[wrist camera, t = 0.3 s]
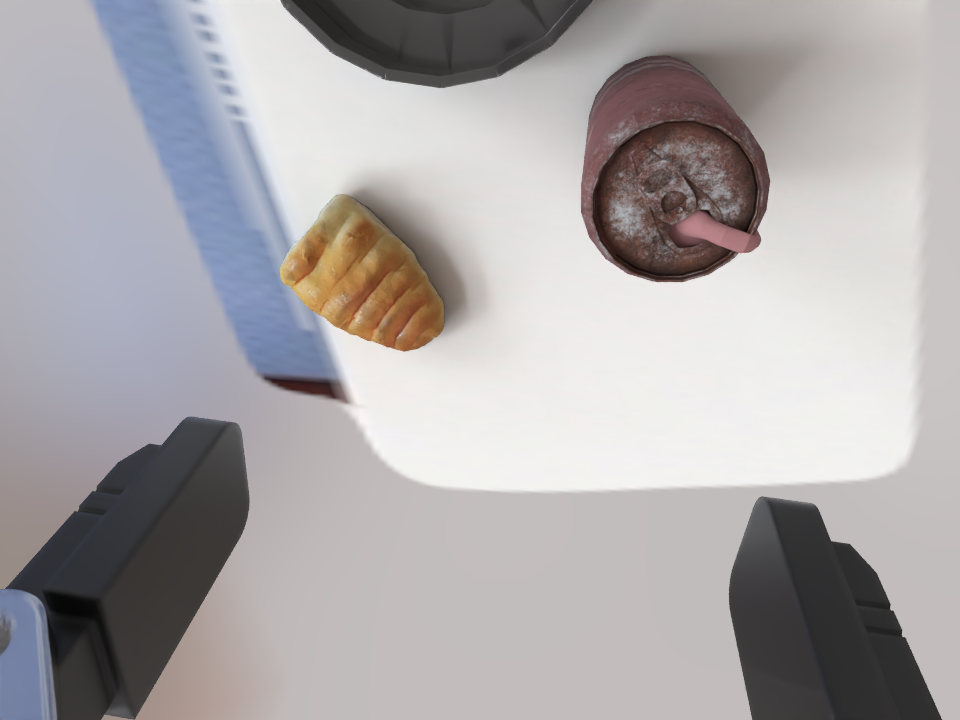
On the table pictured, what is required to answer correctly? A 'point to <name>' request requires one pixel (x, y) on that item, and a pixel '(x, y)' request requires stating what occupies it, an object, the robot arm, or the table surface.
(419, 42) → the bowl
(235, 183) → the table surface
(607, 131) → the can
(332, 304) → the pastry
